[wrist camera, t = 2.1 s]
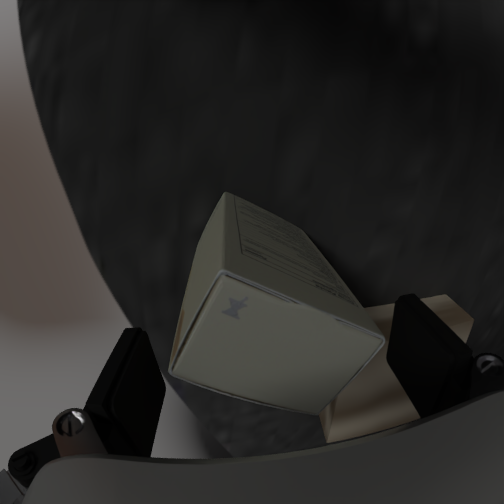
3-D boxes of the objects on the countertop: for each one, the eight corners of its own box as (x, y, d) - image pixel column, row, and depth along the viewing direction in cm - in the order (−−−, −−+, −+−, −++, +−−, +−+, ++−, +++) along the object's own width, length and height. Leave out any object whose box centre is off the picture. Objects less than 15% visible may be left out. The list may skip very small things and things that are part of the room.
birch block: (327, 310, 23) (346, 348, 18) (443, 292, 23) (474, 319, 18) (316, 405, 27) (326, 443, 22) (414, 383, 27) (433, 413, 23)
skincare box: (196, 245, 20) (154, 373, 8) (224, 188, 19) (208, 261, 7) (278, 284, 21) (318, 422, 10) (309, 232, 20) (392, 342, 9)
